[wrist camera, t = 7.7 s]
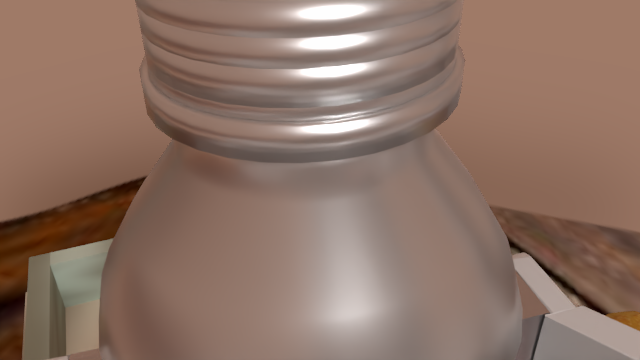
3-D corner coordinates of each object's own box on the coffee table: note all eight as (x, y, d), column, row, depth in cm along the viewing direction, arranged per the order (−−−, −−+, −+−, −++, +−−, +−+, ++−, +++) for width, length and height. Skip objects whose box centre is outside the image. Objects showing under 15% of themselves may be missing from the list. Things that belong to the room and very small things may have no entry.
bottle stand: (273, 247, 37) (268, 192, 34) (366, 440, 26) (369, 378, 23) (32, 308, 33) (8, 250, 30) (20, 567, 22) (-17, 508, 19)
